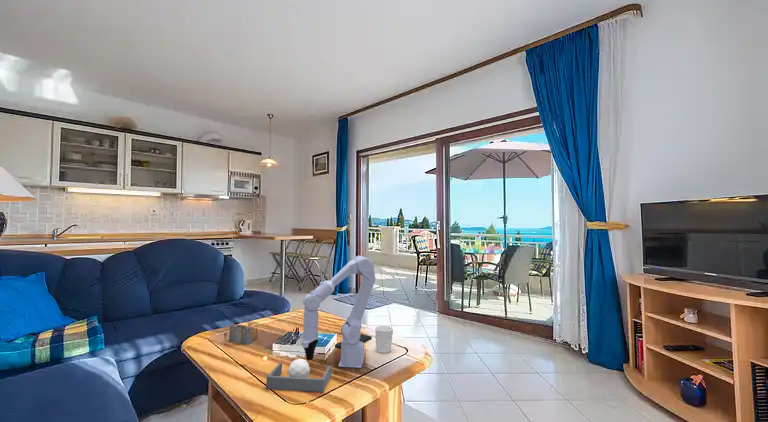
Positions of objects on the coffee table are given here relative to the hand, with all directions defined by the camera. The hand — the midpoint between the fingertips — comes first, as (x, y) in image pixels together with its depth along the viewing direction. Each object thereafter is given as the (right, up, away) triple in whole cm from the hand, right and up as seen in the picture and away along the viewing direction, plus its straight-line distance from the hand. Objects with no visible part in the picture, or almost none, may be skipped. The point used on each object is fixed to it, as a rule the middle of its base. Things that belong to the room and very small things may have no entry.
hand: (309, 359), depth 132 cm
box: (-1, -3, -12) cm, 12 cm away
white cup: (+29, -5, +20) cm, 36 cm away
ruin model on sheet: (-39, -4, +26) cm, 47 cm away
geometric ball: (-2, -3, -11) cm, 11 cm away
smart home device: (+15, -6, +29) cm, 33 cm away
